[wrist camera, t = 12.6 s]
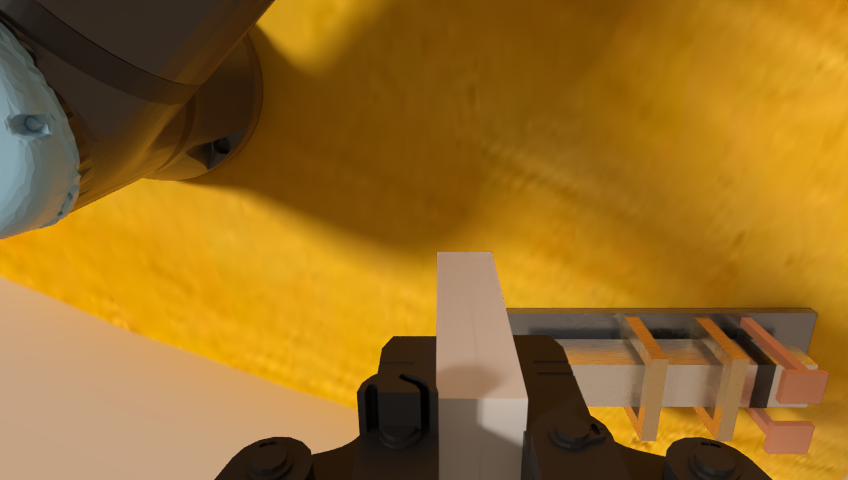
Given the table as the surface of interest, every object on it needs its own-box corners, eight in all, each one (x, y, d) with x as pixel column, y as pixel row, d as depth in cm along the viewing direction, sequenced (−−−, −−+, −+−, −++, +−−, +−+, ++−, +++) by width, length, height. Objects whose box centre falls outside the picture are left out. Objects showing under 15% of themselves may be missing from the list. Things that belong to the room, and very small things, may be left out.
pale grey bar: (529, 378, 50) (537, 406, 46) (532, 338, 48) (540, 364, 44) (778, 379, 49) (807, 408, 45) (788, 338, 47) (819, 365, 44)
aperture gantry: (714, 387, 50) (767, 453, 42) (728, 317, 48) (787, 374, 40) (747, 387, 50) (806, 454, 42) (763, 317, 48) (829, 374, 40)
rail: (447, 383, 52) (448, 441, 45) (447, 308, 49) (449, 356, 42) (790, 384, 51) (850, 444, 44) (810, 308, 49) (877, 357, 41)
